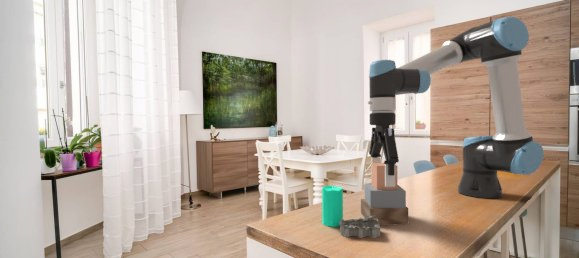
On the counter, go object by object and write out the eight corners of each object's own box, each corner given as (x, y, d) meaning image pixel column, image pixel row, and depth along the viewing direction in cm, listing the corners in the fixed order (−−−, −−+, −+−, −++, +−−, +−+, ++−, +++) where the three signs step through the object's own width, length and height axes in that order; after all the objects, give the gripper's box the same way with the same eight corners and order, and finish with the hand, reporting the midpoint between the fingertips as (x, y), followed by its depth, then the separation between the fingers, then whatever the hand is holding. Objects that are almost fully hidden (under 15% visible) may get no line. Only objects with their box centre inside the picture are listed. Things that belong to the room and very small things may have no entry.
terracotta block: (390, 185, 96) (390, 162, 96) (397, 189, 90) (397, 165, 90) (371, 185, 96) (371, 163, 96) (377, 189, 90) (376, 165, 90)
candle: (318, 221, 92) (318, 181, 91) (335, 218, 94) (335, 179, 94) (328, 227, 86) (328, 185, 86) (347, 224, 89) (346, 183, 88)
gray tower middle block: (396, 199, 98) (396, 183, 98) (405, 208, 89) (405, 190, 88) (364, 198, 99) (364, 183, 99) (370, 207, 89) (370, 190, 89)
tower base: (394, 213, 100) (394, 198, 99) (408, 225, 89) (408, 208, 88) (361, 214, 99) (360, 198, 99) (370, 225, 88) (370, 208, 88)
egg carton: (378, 229, 85) (378, 215, 85) (381, 240, 78) (381, 224, 78) (339, 227, 87) (339, 213, 87) (338, 237, 80) (338, 222, 80)
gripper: (360, 113, 106) (360, 174, 106) (383, 111, 81) (383, 191, 82) (381, 113, 106) (381, 174, 107) (411, 110, 81) (411, 190, 82)
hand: (382, 181), depth 94 cm, fingers open, 13 cm apart
